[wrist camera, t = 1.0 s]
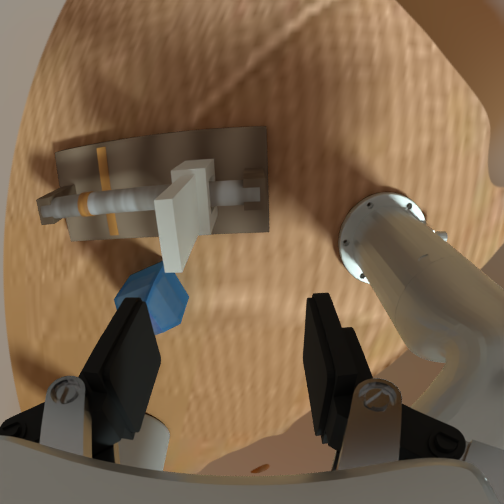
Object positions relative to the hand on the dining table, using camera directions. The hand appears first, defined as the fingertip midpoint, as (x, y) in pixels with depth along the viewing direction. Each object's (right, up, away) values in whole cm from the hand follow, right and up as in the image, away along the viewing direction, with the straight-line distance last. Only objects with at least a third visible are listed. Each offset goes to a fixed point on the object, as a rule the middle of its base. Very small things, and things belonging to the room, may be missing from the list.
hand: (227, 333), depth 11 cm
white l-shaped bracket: (-4, +10, +21) cm, 24 cm away
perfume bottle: (-12, -2, +31) cm, 34 cm away
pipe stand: (-10, +11, +25) cm, 29 cm away
